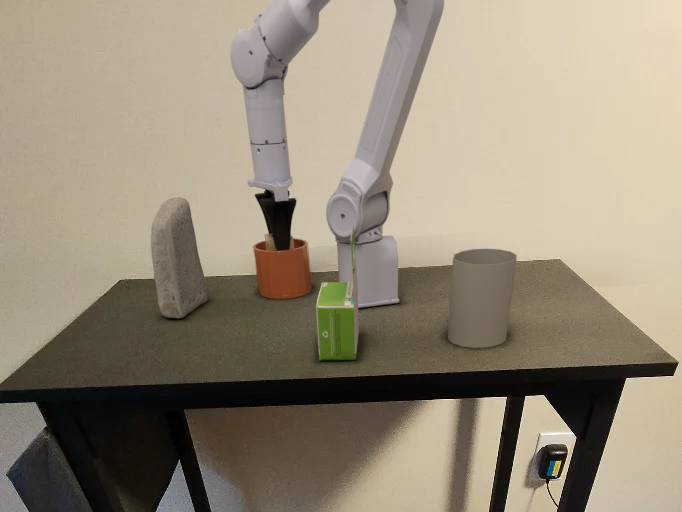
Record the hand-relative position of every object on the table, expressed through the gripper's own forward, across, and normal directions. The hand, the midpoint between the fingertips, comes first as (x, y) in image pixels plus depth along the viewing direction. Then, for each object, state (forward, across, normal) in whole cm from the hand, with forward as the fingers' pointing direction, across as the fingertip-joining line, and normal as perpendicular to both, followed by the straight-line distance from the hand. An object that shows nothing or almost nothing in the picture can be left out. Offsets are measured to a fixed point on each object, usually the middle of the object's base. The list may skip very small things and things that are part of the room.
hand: (280, 246), depth 100 cm
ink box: (+7, +31, +2) cm, 32 cm away
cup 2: (+7, +34, +22) cm, 41 cm away
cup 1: (+7, 0, 0) cm, 7 cm away
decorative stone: (+7, +4, -18) cm, 20 cm away
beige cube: (+1, 0, 0) cm, 1 cm away
